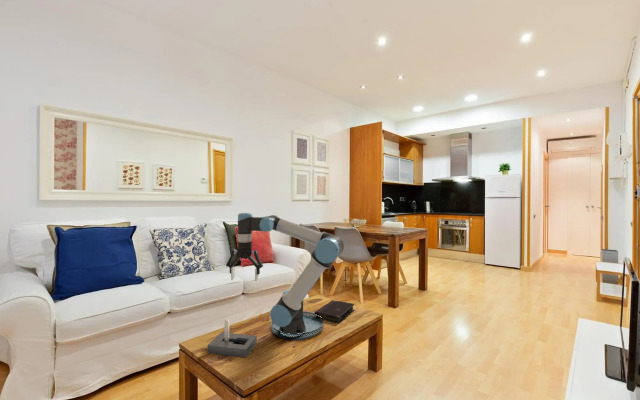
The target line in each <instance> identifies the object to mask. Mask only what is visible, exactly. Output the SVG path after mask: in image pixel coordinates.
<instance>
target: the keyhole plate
mask: <svg viewBox="0 0 640 400" xmlns="http://www.w3.org/2000/svg"><path fill="white" fill-rule="evenodd" d="M257 337H258V335H251V334H250V335H249V334H240V333H230V332H229V342H227V341H224V332H223V331H222V332H220V333H219V334H218V335H217V336H216V337H215V338H213V340H211V341H210V342H209V343H207V344H208V345H207V354H210V353H213V354H212V355H220V356H228V357H229V356H230V357H240V358H244V359H245V358H247V357H248V355H249V354H250V353H251V351H252V350H253V349H254V348H255V347H256V345H257V343H258V342H257V341H258V338H257Z"/></svg>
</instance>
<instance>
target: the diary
mask: <svg viewBox="0 0 640 400" xmlns="http://www.w3.org/2000/svg"><path fill="white" fill-rule="evenodd" d="M354 306H355V303H351V302H346V301H341V300H334V299H332V300H330V301H329V302H328V303H326V304H325V305H323V306H322V307H320V308H318V309H317V310H316V311H314V314H317V315H319V316H321V317H322V318H323V319H322V320H326V321H328V322H331V323H333V324H334V323H335V324H340V323H342V322H343V321H344V320H346V319H347V318H348V317H349V315H350V314H353V313H354V312H355V309H354Z"/></svg>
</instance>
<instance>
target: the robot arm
mask: <svg viewBox="0 0 640 400" xmlns="http://www.w3.org/2000/svg"><path fill="white" fill-rule="evenodd" d="M272 230H273V231H275V232H278V233H281V234H284V235H286V236H290V237H292V238H295V239H298V240H300V241H303V242H306V243H309V244H311V245H314V246H315V248H314V250H313V251H312V252H311V253H310V254H311V255H310V256H311V259H310V260H309V262H308V264H307V265H306V266H305V268H304V269H303V270H302V272H301V273H300V275H299V276H298V278H297V279H296V280H295V282H294V283H293V285H292V286H291V287H290V289H289V290H285V291H284V292H283V293H282V296H280V298H279V299H278V301H277V303H276V304H275V305H273V306H272V308H271V309H270V312H269V313H270V314H269V315H270V320H271V322H272V323H273V324H274V325H275V326H277V327H279V329H278V331H279V330H280V331H282V332H284V333H290V334H297V333H303V332H305V331H307V330H306V329H307V328H306V323H305V320H304V299H305V298H306V296H307V295H308V294H309V293H310V291H311V289H312V288H313V287H314V285H315V284H316V283H317V281H318V280H319V278H320V277H321V276H322V275H323V273H324V272H325V270H327V269H330V268H331V267H332V265H334V262H335V261H336V260H337V259H338V257H339V256H340V255H341V254H342V253H343V251H344V248H345V246H344V242H343V239H342V238H341V237H339V236H338V235H335V234H332V233H329V232H326V231H322V232H321V231H318V230H315V229H312V228H309V227H305V226H303V225H299V224H297V223H294V222H291V221H288V220H285V219H283V218H280V217H279V216H278V215H276V214H275V215H273V214H272V215H267V216H261V217H258V216H253V215H252V213H251V212H240V213H238V214H237V249H236V248H234V249H231V254H230V257H229V258H228V260H227V262H226V264H225V265H226V267H228V269H229V274H230V280H231V281H233V280H234V279H235V265H236V263H238V261H239V260H240V259H244V260H246V259H248V260H249V261H250V262H251V263H252V265H253V266H254V267H255V269H254V281H255V282H257V281H258V280H259V275H260V272H261V270H260V269H262V268H263V267H264V264H263V262H262V260H261V257H260V256H259V253H258V249H255V250H252V247H253V242H252V239H253V236H252V235H253V232H264V233H265V232H266V233H267V232H271V231H272ZM236 254H237V256H235V255H236ZM252 254H253V255H252ZM234 257H236V258H235V259H234ZM233 259H234V260H233ZM305 333H306V332H305Z"/></svg>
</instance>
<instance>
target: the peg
mask: <svg viewBox="0 0 640 400" xmlns="http://www.w3.org/2000/svg"><path fill="white" fill-rule="evenodd" d="M223 323H224V327H223V328H224V330H223V331H224V332H223V333H224V341H227V342H229V333H230V319H224V322H223Z"/></svg>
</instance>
